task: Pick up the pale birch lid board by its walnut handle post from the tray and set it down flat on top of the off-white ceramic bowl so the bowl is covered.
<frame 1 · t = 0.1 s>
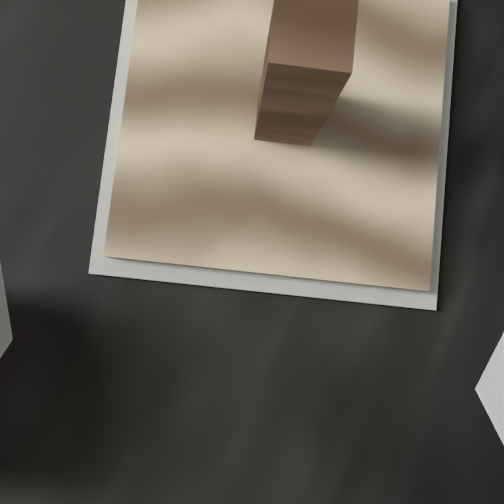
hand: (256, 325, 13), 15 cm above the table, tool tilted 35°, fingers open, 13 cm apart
tray: (281, 126, 29), on the table
lid: (282, 123, 28), point 1 cm above the table, touching tray
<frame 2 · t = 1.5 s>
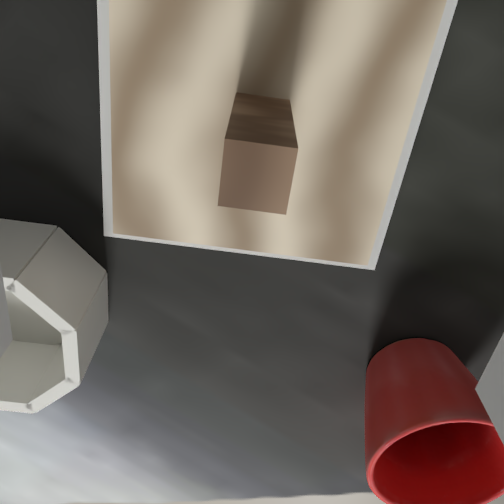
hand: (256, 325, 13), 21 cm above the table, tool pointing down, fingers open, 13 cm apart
flower pot: (410, 369, 42), on the table
tray: (259, 115, 31), on the table
lid: (259, 117, 30), point 1 cm above the table, touching tray
bowl: (32, 288, 38), on the table
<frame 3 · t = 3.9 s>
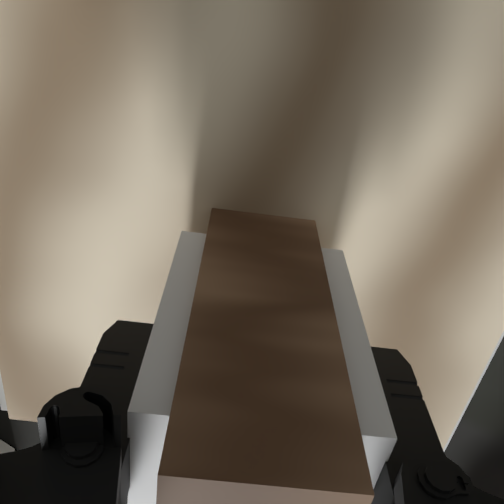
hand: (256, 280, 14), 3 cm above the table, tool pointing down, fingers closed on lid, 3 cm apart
tray: (257, 232, 17), on the table
lid: (257, 240, 17), point 1 cm above the table, touching gripper, tray
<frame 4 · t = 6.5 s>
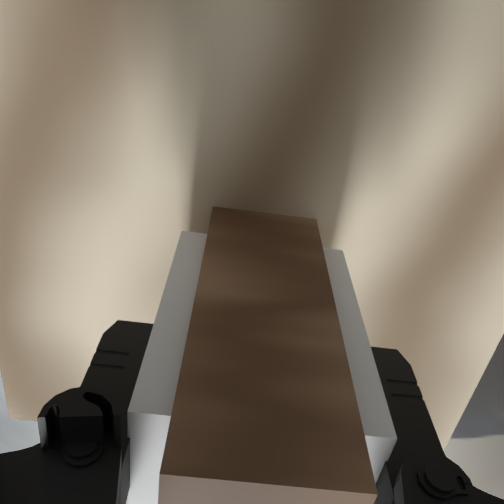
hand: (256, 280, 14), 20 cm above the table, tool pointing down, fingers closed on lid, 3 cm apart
lid: (258, 239, 17), point 17 cm above the table, touching gripper
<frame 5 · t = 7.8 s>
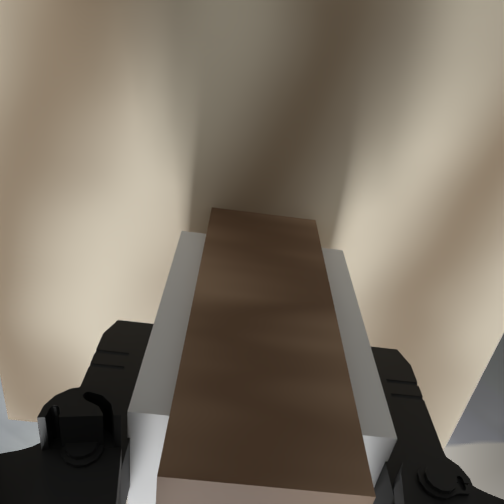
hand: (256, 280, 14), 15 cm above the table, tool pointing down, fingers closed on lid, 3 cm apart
lid: (257, 239, 17), point 13 cm above the table, touching gripper
when the fingers open (11 cm above the table, at t = 9.1 s): lid drops 1 cm, resting on bowl.
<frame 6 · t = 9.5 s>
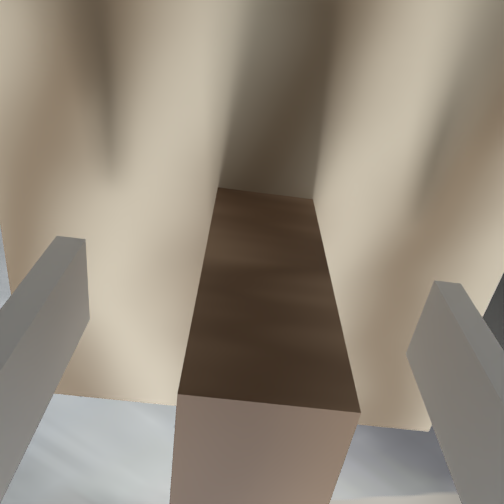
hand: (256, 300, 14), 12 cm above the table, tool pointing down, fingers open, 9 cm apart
lid: (259, 219, 18), point 7 cm above the table, touching bowl
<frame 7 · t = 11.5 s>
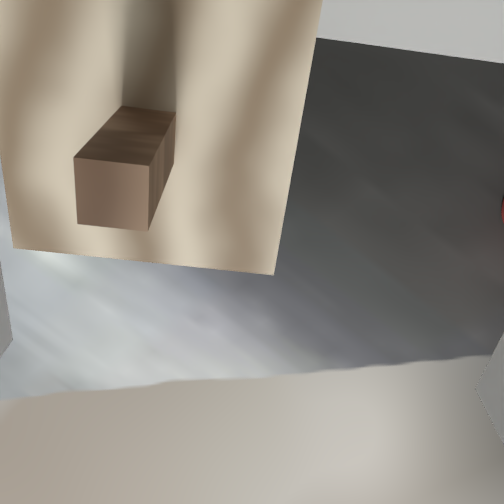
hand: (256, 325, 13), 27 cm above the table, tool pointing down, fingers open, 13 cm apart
lid: (151, 130, 30), point 7 cm above the table, touching bowl
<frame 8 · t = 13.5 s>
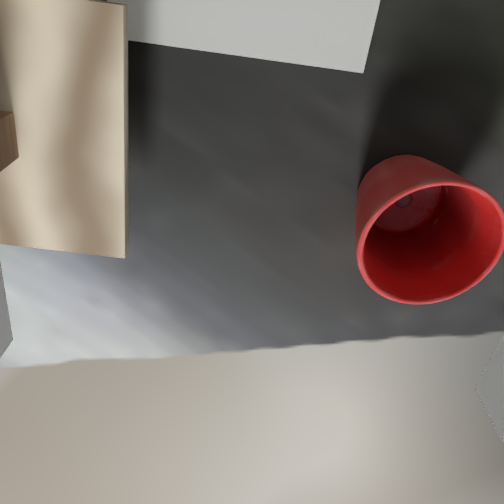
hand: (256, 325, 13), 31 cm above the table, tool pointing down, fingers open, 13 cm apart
flower pot: (398, 194, 44), on the table
lid: (0, 127, 34), point 7 cm above the table, touching bowl
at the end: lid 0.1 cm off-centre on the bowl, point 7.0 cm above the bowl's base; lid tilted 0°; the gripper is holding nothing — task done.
